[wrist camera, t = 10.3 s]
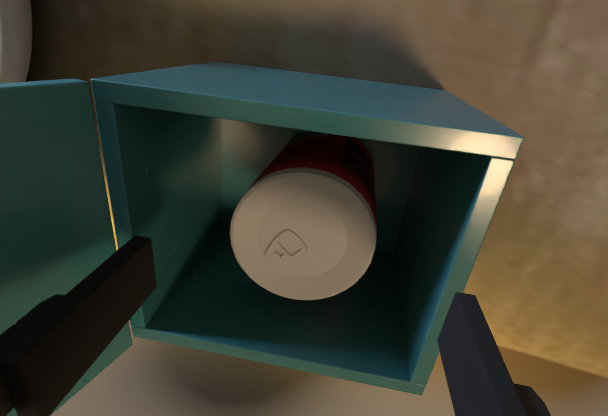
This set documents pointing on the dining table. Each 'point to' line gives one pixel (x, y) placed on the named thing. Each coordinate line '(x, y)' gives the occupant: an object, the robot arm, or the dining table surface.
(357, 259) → the canned food
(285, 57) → the dining table surface
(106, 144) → the box
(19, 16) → the bowl
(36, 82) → the chest lid
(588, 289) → the dining table surface
